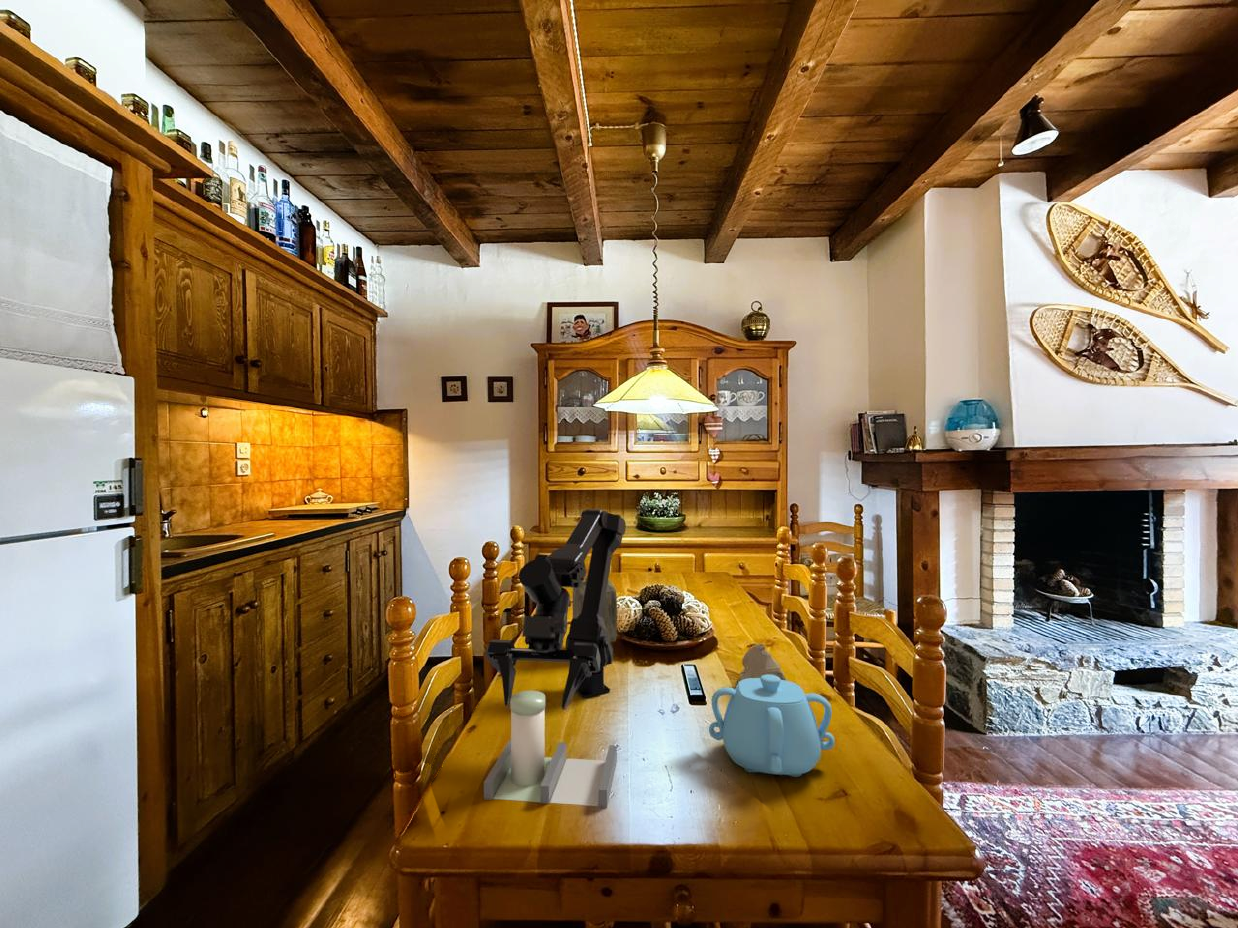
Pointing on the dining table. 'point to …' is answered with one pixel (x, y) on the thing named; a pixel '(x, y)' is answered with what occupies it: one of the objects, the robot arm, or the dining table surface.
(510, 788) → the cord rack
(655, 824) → the dining table surface
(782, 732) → the decorative pot
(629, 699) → the dining table surface
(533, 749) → the white capped canister
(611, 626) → the tabletop clock
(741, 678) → the ceramic model
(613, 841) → the dining table surface
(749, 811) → the dining table surface
